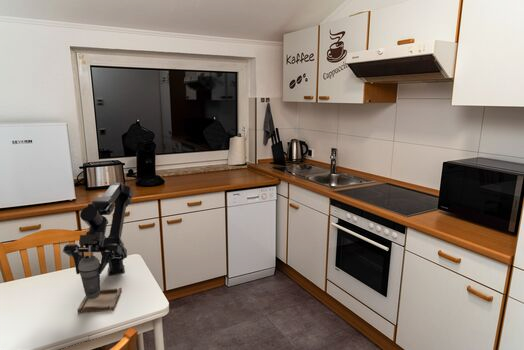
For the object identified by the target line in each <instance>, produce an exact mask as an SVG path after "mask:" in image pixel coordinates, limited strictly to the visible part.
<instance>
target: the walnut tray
mask: <svg viewBox="0 0 524 350" xmlns="http://www.w3.org/2000/svg"><path fill="white" fill-rule="evenodd" d="M122 292H123V290H122V287H120V288H119V287H118V288H117V287H116V288H104V289H103V288H100V296H99V297H97V298H95V299H87V298H86V294H84V295H85V296H84V297H83V299H82V301H81V303H80V304H79V306H78V308H77V314H88V313H99V312H100V313H101V312H103V313H104V312H114V311H115V309H116V307H117V304H118V302H119V300H120V298H121V296H122V295H121V294H122Z"/></svg>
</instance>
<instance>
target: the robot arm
mask: <svg viewBox="0 0 524 350" xmlns="http://www.w3.org/2000/svg"><path fill="white" fill-rule="evenodd" d="M133 197H134V191H133V189H132V188H131V186H129V185H126V184H124V183H123V182H111V183H110V184H109V187H108V188H107V189H106V191H105V192H104V193H103V195H102V196H99V197H96V198H95V199H94V200H92V202H91V203H88V204H87V206H86V207H84V208H83V209H82V210H80V213H79V216H80V219H81V220H82V221H83V222H84V224H86V225H87V226H88V231H86V232H85V234H80V235H79V245H81V246H79V245H78V244H75V243H72V244H71V243H69V244H65V245H64V247H63V249H62V252H63V253H64V254H66V255H67V256H68V257H72V258H73V260H74V261H73V262H74V266H75V272H76V275H80V273H79V271H78V265H79V262H80V260H81V259H82V258H83V257H84V256H83V255H82V253H85V254H86V253H88V254H89V245H90V250H91V253H101V260H100V267H99V274H100V275H101V274H102V273H103V271H104V270H105V268H106V266H107V265H108V268H107V274H108V276H112V275H118V274H124V273H126V269H125V264H124V260H125V259H126V258H127V257H128V249H126V247H125V246H124V245H125V243H124V242H123V239H122V234H123V228H124V222H125V217H126V210H127V209H126V208H127V207H128V206H129V205H130V203H131V202H132V199H133ZM110 215H112V219H111V225H110V231H109V234H108V236H107V237H106V232H107V226H108V224H109V221H108V219H107V217H105V216H110Z"/></svg>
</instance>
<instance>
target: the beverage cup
mask: <svg viewBox="0 0 524 350" xmlns="http://www.w3.org/2000/svg"><path fill="white" fill-rule="evenodd" d="M91 253H92V252H91V250H90V245H89V253H88V255H85V256H83V258H82V259H81V260H80V262H79V265H78V271H79V276H80V279H81V282H82V286H83V291H84V295H86V298H87V299H95V298H97V297H99V296H100V289H101V274H99V267H100V263H101V261H100V260H99V258H98V257H96V256H95V255H92V254H91Z"/></svg>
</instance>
